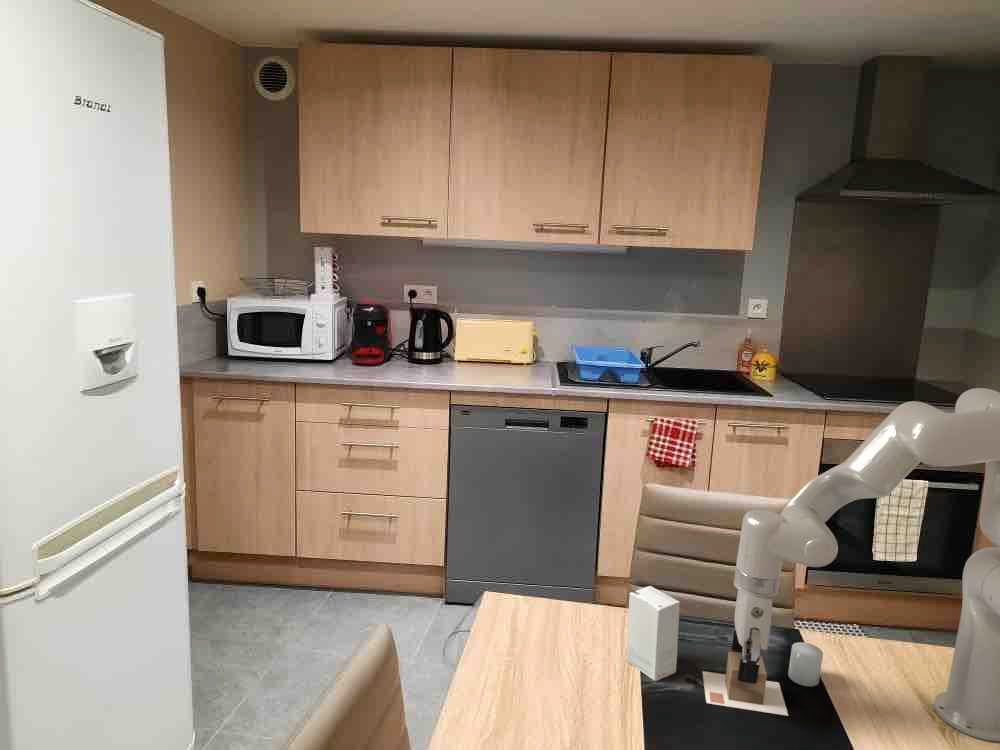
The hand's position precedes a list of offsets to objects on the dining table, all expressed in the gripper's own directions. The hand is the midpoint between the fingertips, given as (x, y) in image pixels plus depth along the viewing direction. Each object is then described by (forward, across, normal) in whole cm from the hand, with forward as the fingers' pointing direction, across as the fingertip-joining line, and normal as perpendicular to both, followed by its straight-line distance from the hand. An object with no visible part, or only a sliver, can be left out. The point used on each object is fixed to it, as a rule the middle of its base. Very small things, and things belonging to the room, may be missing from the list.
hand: (743, 666), depth 137 cm
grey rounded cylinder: (+5, +8, -13) cm, 16 cm away
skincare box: (+6, +4, +16) cm, 18 cm away
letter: (+6, 0, -1) cm, 6 cm away
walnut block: (+5, 0, -1) cm, 5 cm away
